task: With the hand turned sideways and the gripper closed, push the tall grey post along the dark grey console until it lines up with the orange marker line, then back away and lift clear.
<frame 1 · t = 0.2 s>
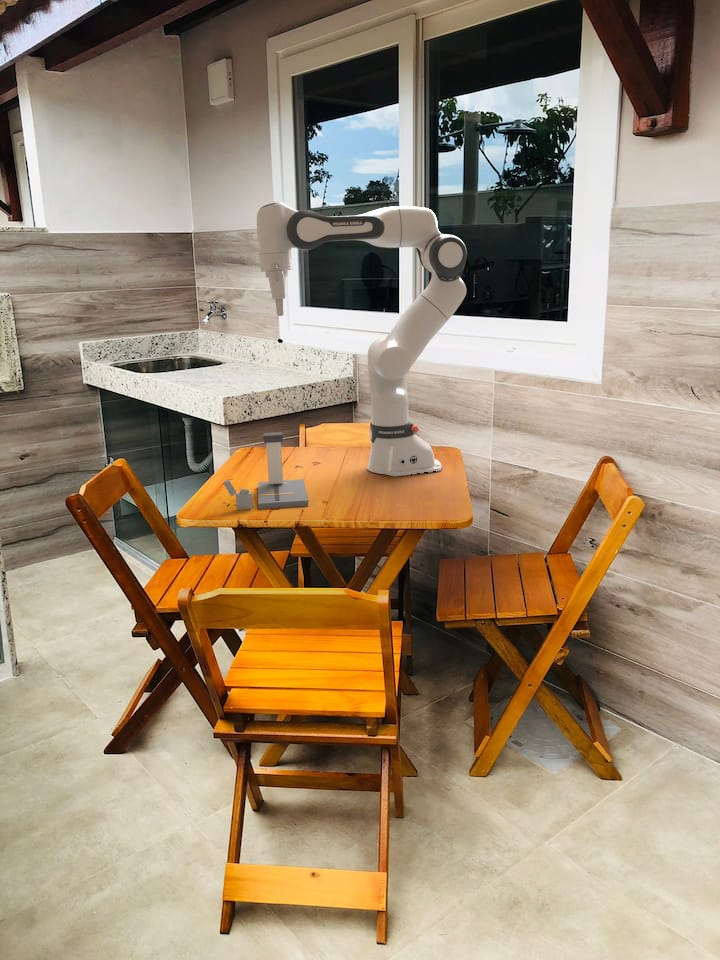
hand: (280, 315, 223), 47 cm above the table, tool pointing down, fingers open, 8 cm apart
console: (282, 496, 217), on the table
grey post: (274, 458, 221), point 9 cm above the table, slide at 0.0 cm
lighter: (239, 509, 207), on the table
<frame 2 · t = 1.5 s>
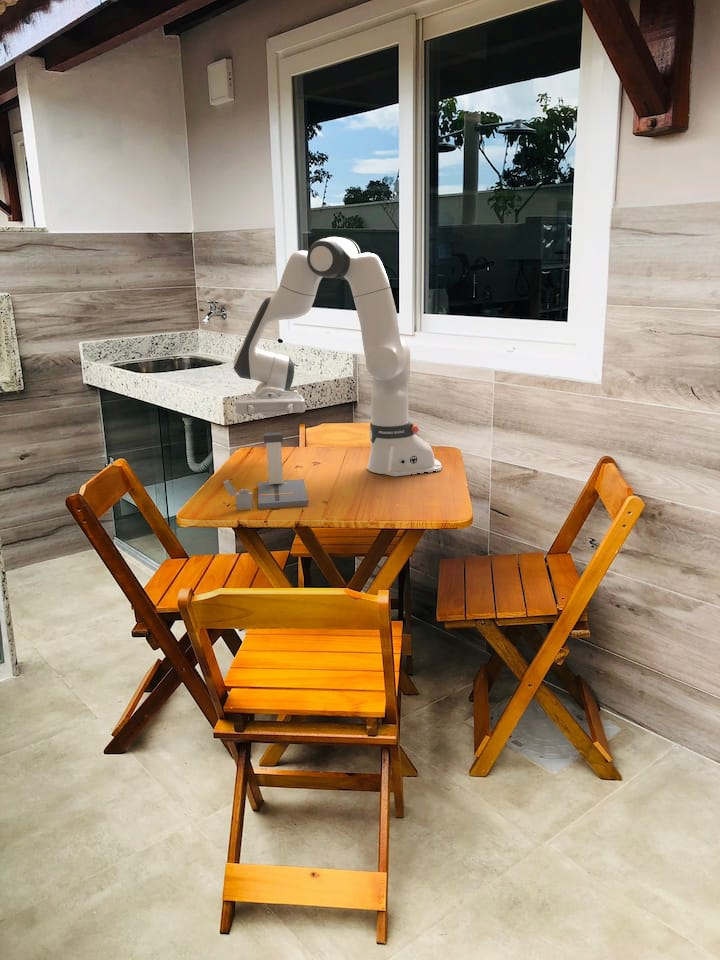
hand: (271, 410, 226), 21 cm above the table, tool horizontal, fingers open, 8 cm apart
nothing on the table moved.
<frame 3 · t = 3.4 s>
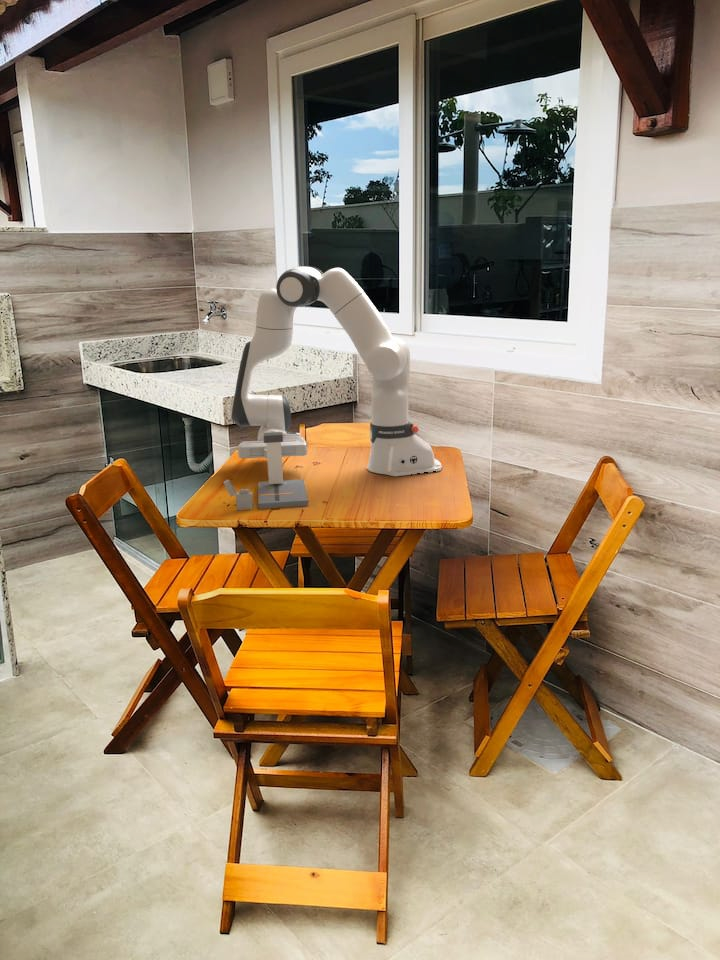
hand: (273, 455, 226), 8 cm above the table, tool horizontal, fingers closed
nothing on the table moved.
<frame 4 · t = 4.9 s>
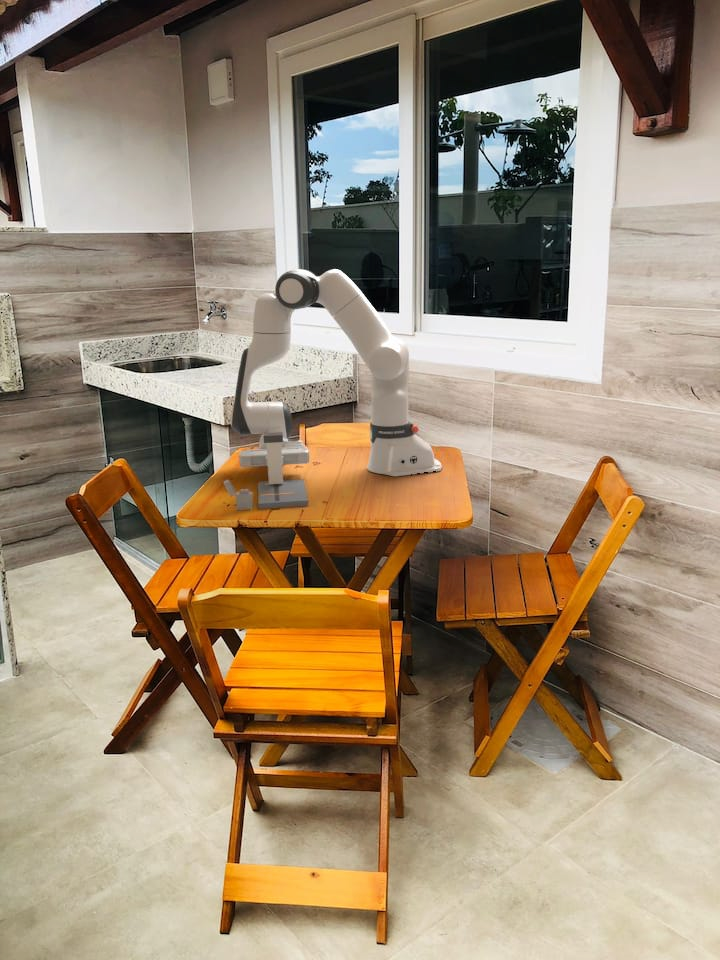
hand: (274, 463, 222), 7 cm above the table, tool horizontal, fingers closed, pressing on grey post
grey post: (274, 458, 220), point 9 cm above the table, slide at 0.2 cm, touching gripper
everything else where it was.
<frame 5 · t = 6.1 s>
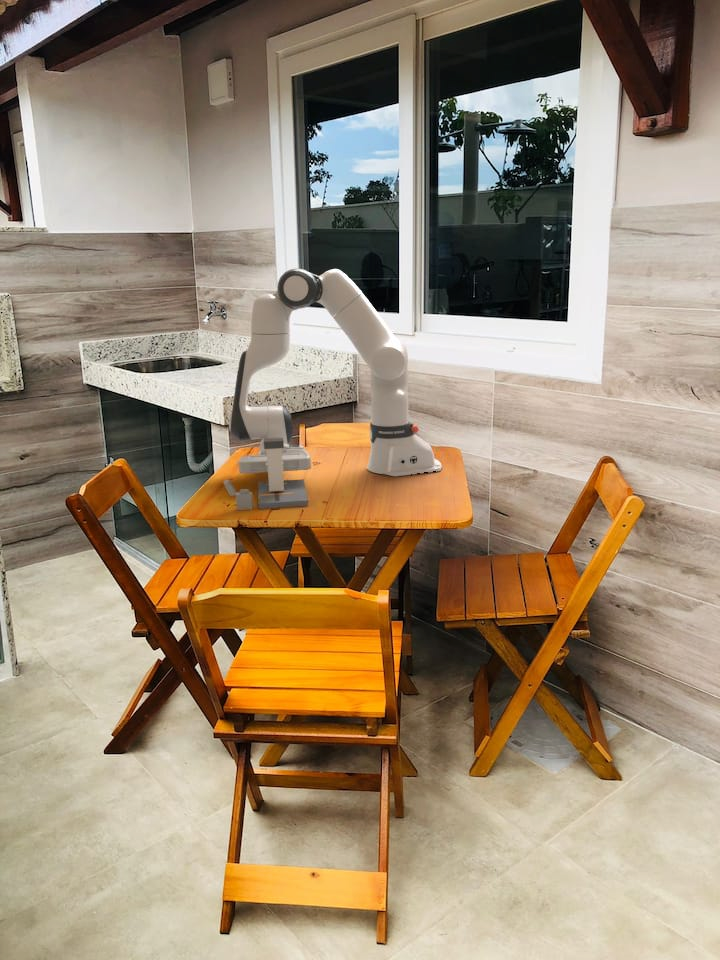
hand: (275, 470, 216), 7 cm above the table, tool horizontal, fingers closed, pressing on grey post
grey post: (275, 464, 214), point 9 cm above the table, slide at 7.0 cm, touching gripper
everything else where it was.
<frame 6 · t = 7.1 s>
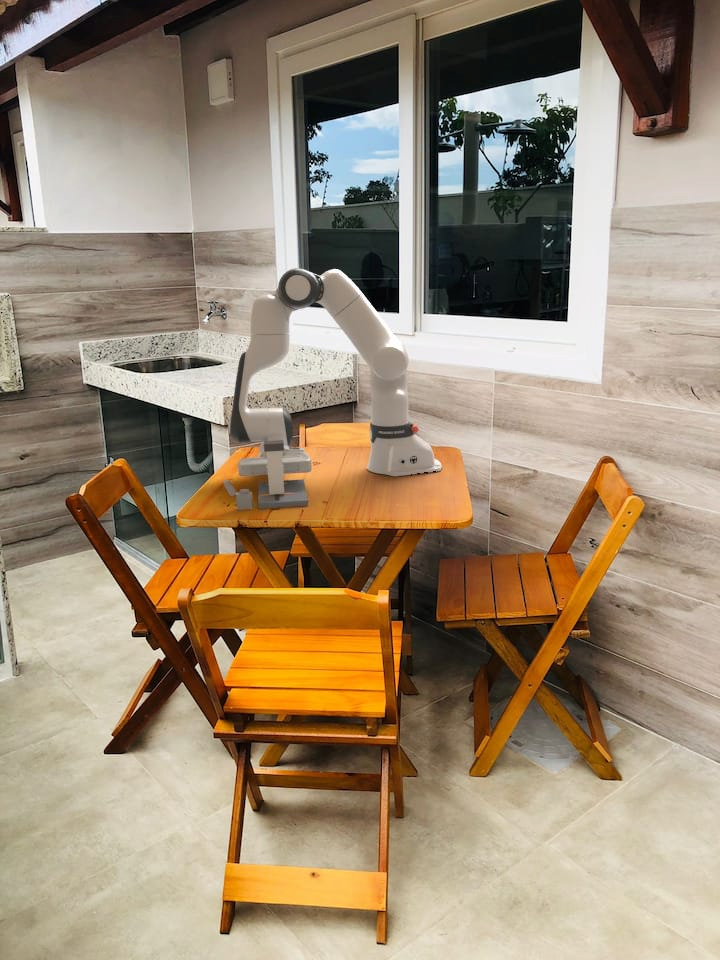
hand: (275, 473, 213), 7 cm above the table, tool horizontal, fingers closed, pressing on grey post
grey post: (275, 467, 211), point 9 cm above the table, slide at 9.9 cm, touching gripper
everything else where it was.
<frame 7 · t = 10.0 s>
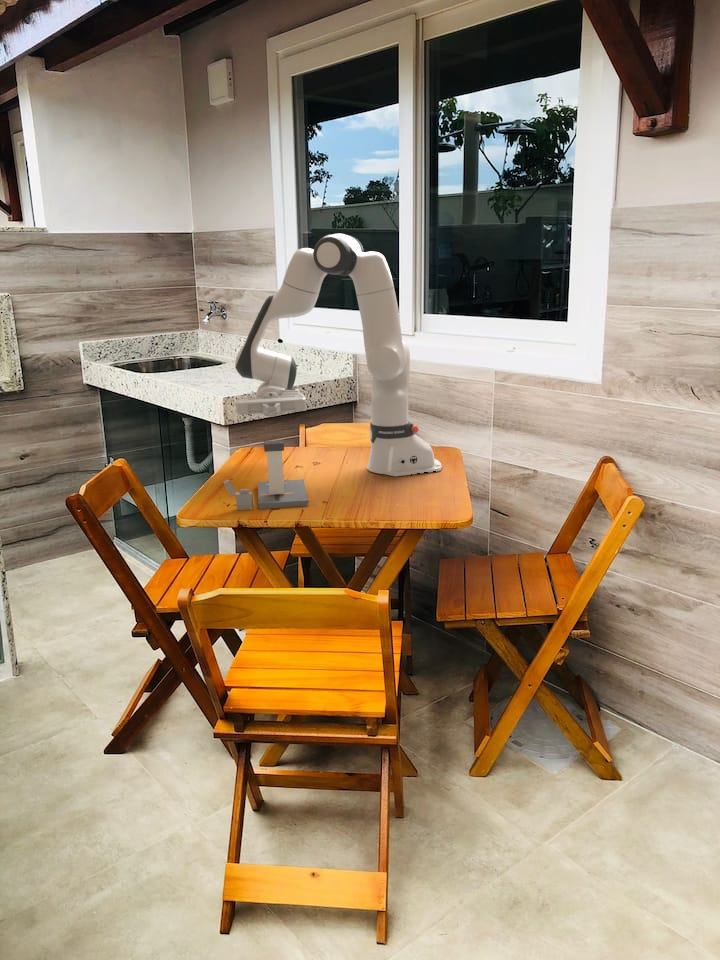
hand: (271, 410, 222), 22 cm above the table, tool horizontal, fingers closed
grey post: (275, 467, 211), point 9 cm above the table, slide at 9.9 cm
everything else where it was.
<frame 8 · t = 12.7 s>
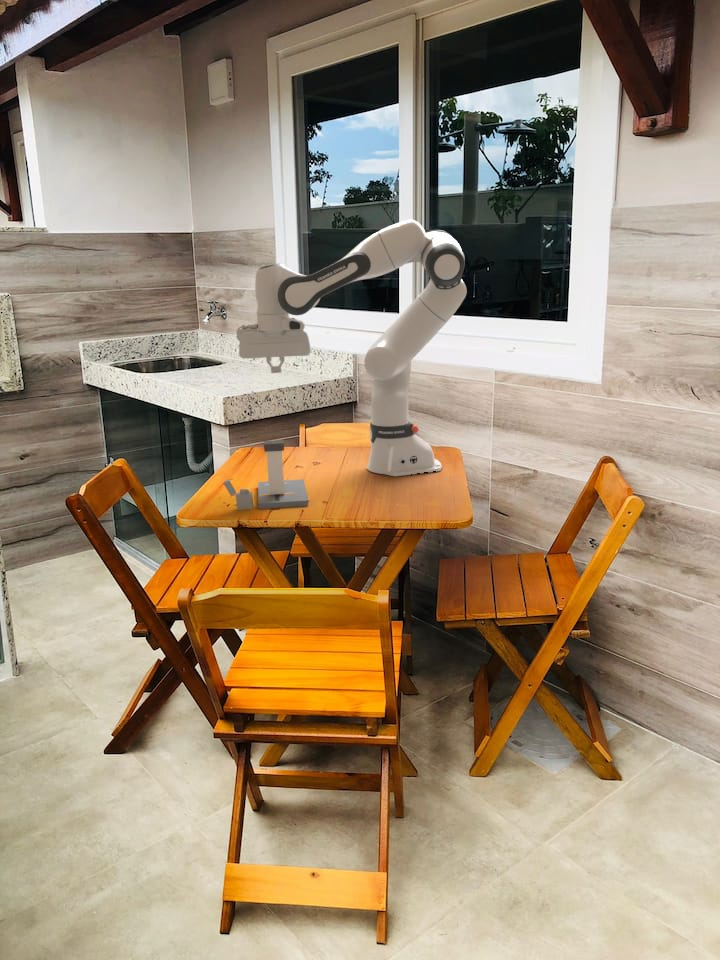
hand: (276, 372, 226), 31 cm above the table, tool pointing down, fingers closed
nothing on the table moved.
at the end: grey post slide at 9.9 cm; lighter moved 0.1 cm from its start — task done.
